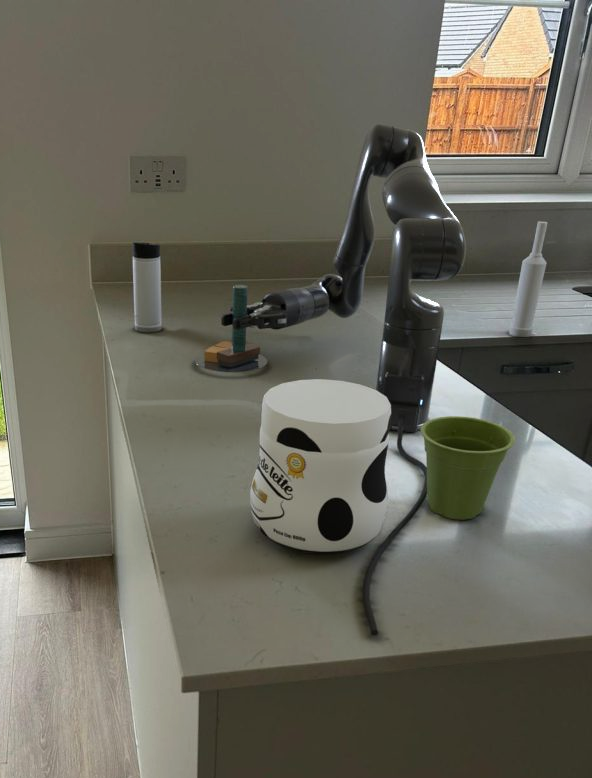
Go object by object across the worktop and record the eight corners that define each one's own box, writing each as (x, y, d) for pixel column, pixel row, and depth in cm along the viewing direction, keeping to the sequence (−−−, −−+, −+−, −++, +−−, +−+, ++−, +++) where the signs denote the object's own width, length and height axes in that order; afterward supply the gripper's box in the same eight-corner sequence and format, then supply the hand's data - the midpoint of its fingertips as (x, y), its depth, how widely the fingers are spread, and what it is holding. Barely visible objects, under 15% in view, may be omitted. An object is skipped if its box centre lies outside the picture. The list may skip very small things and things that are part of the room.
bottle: (533, 338, 182) (557, 224, 170) (509, 336, 182) (532, 223, 170) (529, 332, 186) (552, 221, 174) (506, 330, 187) (528, 220, 175)
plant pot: (393, 496, 111) (403, 422, 105) (462, 484, 114) (476, 411, 109) (443, 536, 101) (457, 457, 95) (517, 521, 105) (535, 443, 99)
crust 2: (222, 363, 159) (222, 353, 158) (204, 360, 160) (204, 351, 159) (229, 358, 162) (229, 348, 161) (211, 355, 163) (211, 346, 162)
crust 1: (230, 358, 162) (230, 348, 161) (214, 354, 164) (214, 345, 163) (240, 353, 165) (240, 344, 164) (224, 350, 167) (224, 340, 166)
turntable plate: (257, 381, 153) (257, 375, 152) (184, 373, 157) (184, 367, 156) (274, 359, 166) (274, 353, 165) (206, 352, 170) (206, 346, 169)
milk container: (222, 535, 100) (225, 403, 92) (294, 488, 112) (303, 367, 104) (340, 582, 91) (356, 440, 83) (406, 525, 103) (425, 396, 95)
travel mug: (129, 330, 183) (125, 241, 174) (144, 324, 189) (141, 237, 179) (152, 334, 181) (149, 244, 171) (166, 327, 186) (165, 240, 176)
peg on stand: (247, 355, 163) (249, 281, 156) (259, 358, 161) (262, 284, 154) (216, 364, 158) (217, 288, 151) (228, 368, 156) (230, 291, 148)
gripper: (264, 284, 167) (204, 296, 156) (314, 295, 158) (255, 310, 147) (263, 319, 170) (204, 333, 160) (312, 332, 161) (253, 349, 151)
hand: (229, 322), depth 154 cm, fingers closed on peg on stand, 3 cm apart
